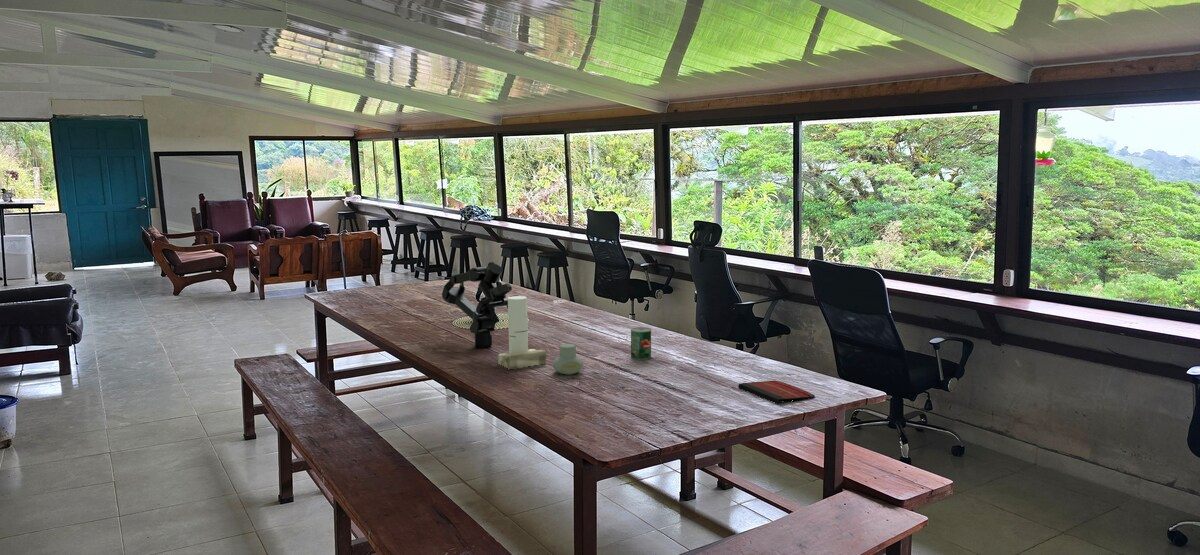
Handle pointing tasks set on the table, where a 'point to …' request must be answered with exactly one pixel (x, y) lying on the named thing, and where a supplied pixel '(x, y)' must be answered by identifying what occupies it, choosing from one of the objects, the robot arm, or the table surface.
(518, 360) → the wooden holder
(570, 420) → the table surface
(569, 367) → the air freshener
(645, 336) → the canned tomato
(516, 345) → the cylindrical container
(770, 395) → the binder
